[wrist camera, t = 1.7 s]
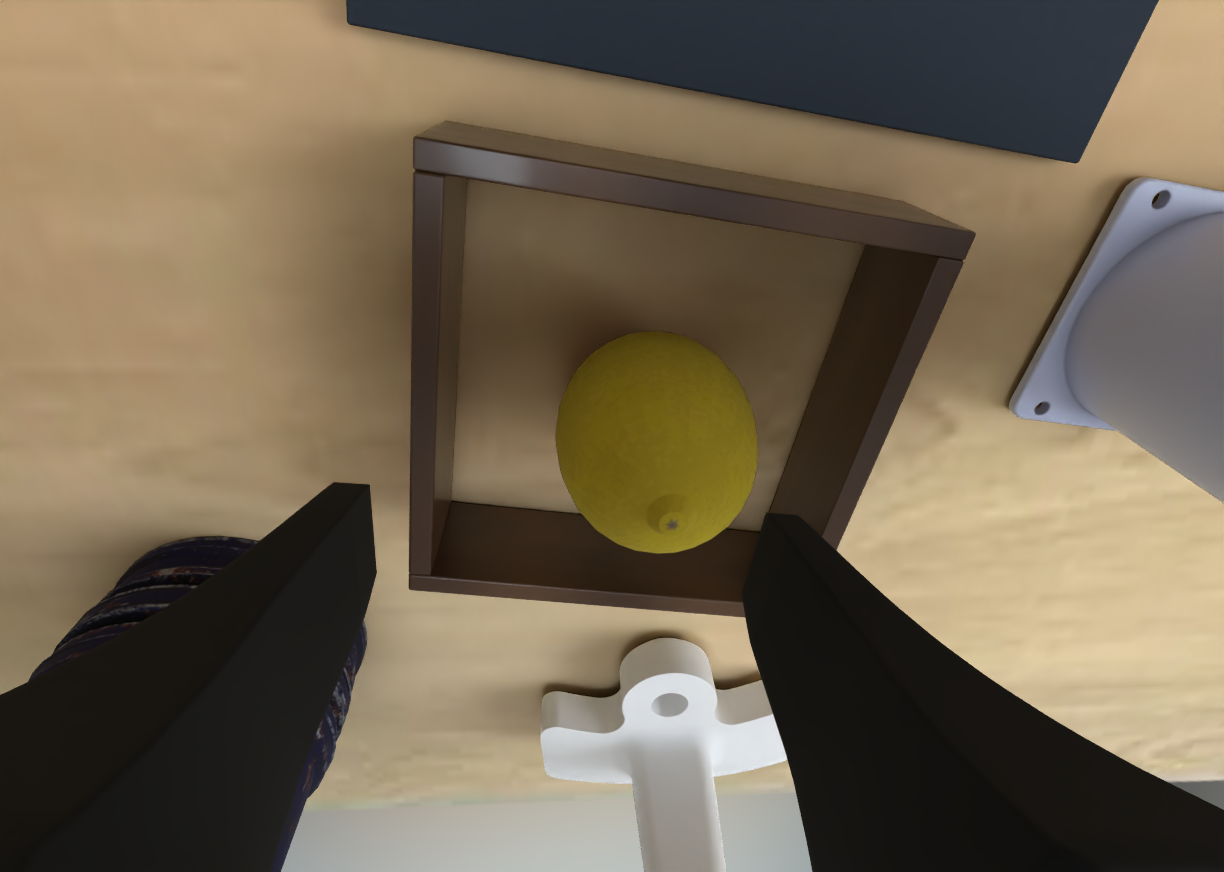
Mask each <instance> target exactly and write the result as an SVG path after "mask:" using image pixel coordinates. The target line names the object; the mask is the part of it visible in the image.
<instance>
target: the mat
mask: <svg viewBox="0 0 1224 872" xmlns="http://www.w3.org/2000/svg"><path fill="white" fill-rule="evenodd" d="M1158 1H1159V0H346V5H347V22H348V23H349V24H350V25H355V26H360V27H365V28H370V29H376V30H381V31H386V32H391V33H397V34H402V35H407V36H412V37H417V38H423V39H428V40H433V41H438V42H444V43H449V44H454V45H459V46H465V47H470V48H475V49H480V50H485V51H491V52H496V53H501V54H506V55H512V56H517V57H522V58H527V59H532V60H538V61H543V62H548V63H553V64H559V65H564V66H569V67H574V68H579V69H585V70H590V71H595V72H600V73H606V74H611V75H616V76H621V77H626V78H632V79H637V80H642V81H647V82H653V83H658V84H663V85H668V86H673V87H679V88H684V89H689V90H694V91H700V92H705V93H710V94H715V95H720V96H726V97H731V98H736V99H741V100H747V101H752V102H757V103H762V104H767V105H773V106H778V107H783V108H788V109H794V110H799V111H804V112H809V113H815V114H820V115H825V116H830V117H835V118H841V119H846V120H851V121H856V122H862V123H867V124H872V125H877V126H882V127H888V128H893V129H898V130H903V131H909V132H914V133H919V134H924V135H929V136H935V137H940V138H945V139H950V140H956V141H961V142H966V143H971V144H976V145H982V146H987V147H992V148H997V149H1003V150H1008V151H1013V152H1018V153H1023V154H1029V155H1034V156H1039V157H1044V158H1050V159H1055V160H1060V161H1065V162H1070V163H1078V162H1079V161H1080V159H1081V157H1082V154H1083V152H1084V150H1085V148H1086V146H1087V144H1088V142H1089V140H1090V138H1091V136H1092V134H1093V132H1094V130H1095V128H1096V126H1097V124H1098V122H1099V120H1100V118H1101V116H1102V114H1103V112H1104V110H1105V108H1106V106H1107V104H1108V102H1109V100H1110V98H1111V96H1112V94H1113V92H1114V90H1115V88H1116V86H1117V84H1118V82H1119V80H1120V78H1121V76H1122V74H1123V71H1124V69H1125V67H1126V65H1127V63H1128V61H1129V59H1130V57H1131V55H1132V53H1133V51H1134V49H1135V47H1136V45H1137V43H1138V41H1139V39H1140V37H1141V35H1142V33H1143V31H1144V29H1145V27H1146V25H1147V23H1148V21H1149V19H1150V17H1151V15H1152V13H1153V11H1154V9H1155V7H1156V5H1157V3H1158Z"/></svg>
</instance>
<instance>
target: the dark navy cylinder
mask: <svg viewBox="0 0 1224 872" xmlns="http://www.w3.org/2000/svg"><path fill="white" fill-rule="evenodd" d="M256 543H258V542H256V541H251V540H247V539H240V538H230V537H198V538H191V539H183V540H179V541H175V542H172V543H169V544H165V545H162V546H160V547H158V548H156V549H154V550H152V551H150V552H148V553H146V554H145V555H144V556H142V557H141V558H139V559H138V560H137V561H135V562H134V564H133V565H132V566H131V567H130V568H129V569H128V570H127V571H126V573H125V574H124V575H123V576H122V577H121V578H120V580H119V581H118V582H117V583H116V585H115V587H114V589H113V590H111V591H110V592H109V593H107V595H106V596H105V597H104V598H103V599H102V600H101V601H100V603H98V604H97V605H95V606H94V607H93V608H91V609H90V610H89V611H87V612H86V613H85V614H84V615H83V617H82V618H81V619H80V620H79V621H78V622H77V623H76V625H75V626H74V627H73V628H72V629H71V630H70V631H69V632H68V634H67V635H66V636H65V637H64V638H63V639H62V640H61V642H60V643H59V644H58V645H57V646H56V648H55V650H54V652H53V654H52V655H51V656H50V657H49V658H47V659H46V660H44V661H43V662H42V663H41V664H40V665H39V666H38V667H37V668H36V670H35V671H34V672H33V673H32V675H31V677H30V679H29V681H31V680H33V679H35V678H37V677H39V676H41V675H43V674H45V673H47V672H49V671H51V670H53V669H55V668H57V667H59V666H60V665H62V664H64V663H66V662H68V661H70V660H72V659H74V658H76V657H78V656H80V655H81V654H83V653H85V652H87V651H89V650H91V649H93V648H95V647H97V646H99V645H101V644H103V643H104V642H106V641H108V640H110V639H112V638H114V637H116V636H117V635H119V634H121V633H123V632H124V631H126V630H128V629H130V628H131V627H133V626H135V625H136V624H138V623H140V622H141V621H143V620H145V619H146V618H148V617H150V616H151V615H153V614H155V613H157V612H158V611H160V610H162V609H163V608H165V607H166V606H168V605H169V604H171V603H173V602H174V601H176V600H177V599H179V598H181V597H182V596H184V595H185V594H187V593H188V592H190V591H191V590H193V589H194V588H196V587H197V586H198V585H200V584H201V583H203V582H204V581H206V580H207V579H208V578H210V577H211V576H213V575H214V574H215V573H217V572H218V571H220V570H221V569H223V568H224V567H225V566H227V565H228V564H230V563H231V562H232V561H234V560H235V559H237V558H238V557H240V556H241V555H242V554H244V553H245V552H246V551H247V550H249V549H250V548H251V547H253V546H254V545H255V544H256ZM366 645H367V632H366V627H365V623H364V620H363V624H362V626H361V629H360V631H359V634H358V636H357V639H356V641H355V643H354V646H353V648H352V651H351V653H350V655H349V658H348V660H347V663H346V665H345V667H344V670H343V672H342V674H341V677H340V679H339V681H338V684H337V686H336V689H335V691H334V693H333V696H332V698H331V700H330V703H329V705H328V707H327V710H326V712H325V714H324V717H323V719H322V721H321V724H320V726H319V728H318V731H317V733H316V736H315V738H314V740H313V743H312V745H311V748H310V751H309V753H308V756H307V759H306V761H305V764H304V767H303V769H302V772H301V775H300V779H299V782H298V785H297V788H296V791H295V795H294V798H293V801H292V804H291V807H290V810H289V814H288V817H287V820H286V823H285V826H284V830H283V833H282V836H281V840H280V843H279V846H278V850H277V853H276V857H275V860H274V863H273V867H272V870H271V872H281V869H282V867H283V864H284V861H285V858H286V855H287V853H288V849H289V847H290V844H291V841H292V839H293V836H294V833H295V830H296V827H297V824H298V822H299V819H300V816H301V813H302V811H303V808H304V805H305V802H306V800H307V798H308V797H310V796H311V794H312V793H313V792H314V791H315V790H316V789H317V788H318V786H319V784H320V783H321V781H322V779H323V777H324V775H325V772H326V771H327V769H328V767H329V765H330V764H331V762H332V760H333V757H334V752H335V748H336V741H337V739H338V737H339V735H340V733H341V730H342V727H343V724H344V721H345V719H346V715H347V713H348V710H349V705H350V701H351V692H352V689H353V684H354V680H355V676H356V674H357V672H358V670H359V668H360V666H361V663H362V660H363V657H364V654H365V649H366ZM29 681H28V682H29Z"/></svg>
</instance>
